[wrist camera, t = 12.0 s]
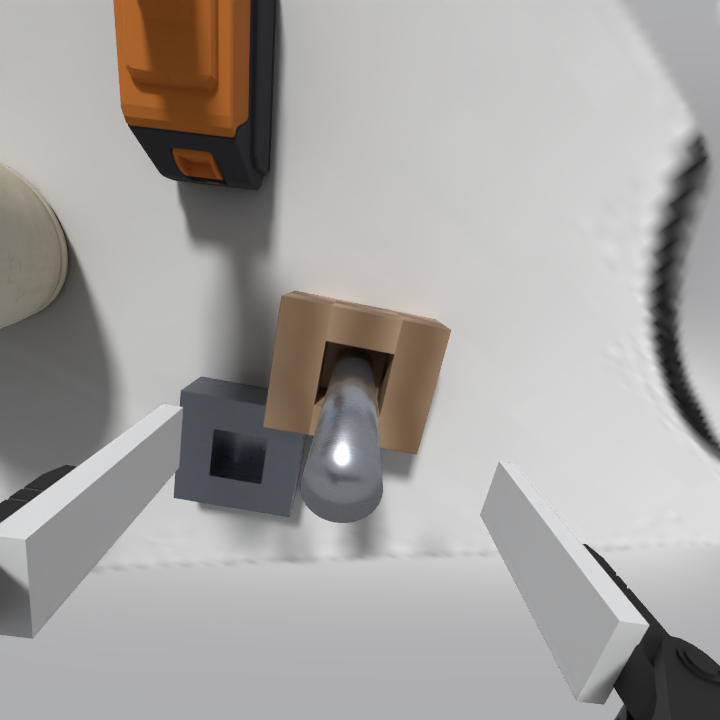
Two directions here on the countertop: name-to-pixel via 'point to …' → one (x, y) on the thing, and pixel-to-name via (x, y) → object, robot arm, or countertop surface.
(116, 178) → the countertop surface
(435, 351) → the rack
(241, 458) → the socket block
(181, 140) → the power drill
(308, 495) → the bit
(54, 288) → the jug
